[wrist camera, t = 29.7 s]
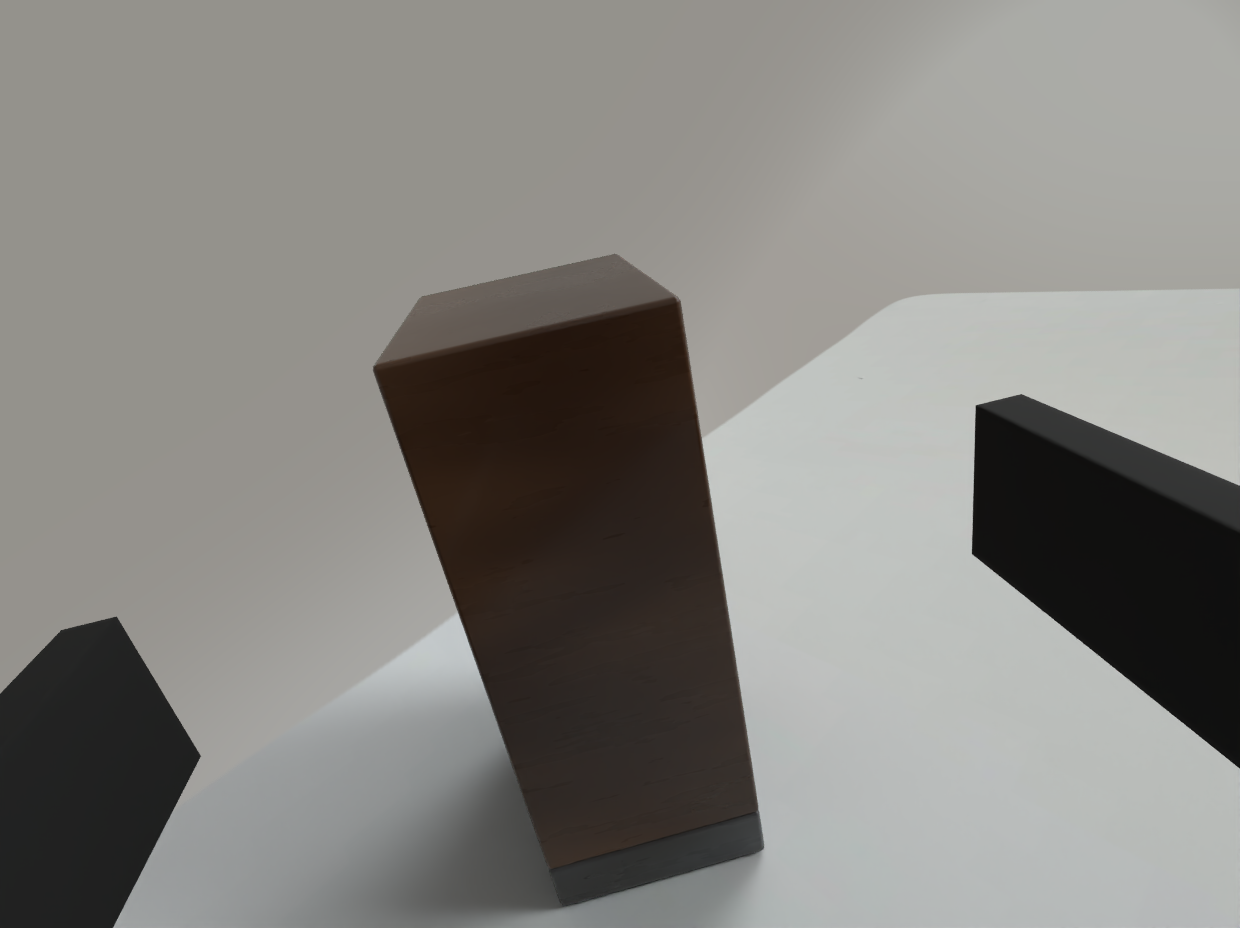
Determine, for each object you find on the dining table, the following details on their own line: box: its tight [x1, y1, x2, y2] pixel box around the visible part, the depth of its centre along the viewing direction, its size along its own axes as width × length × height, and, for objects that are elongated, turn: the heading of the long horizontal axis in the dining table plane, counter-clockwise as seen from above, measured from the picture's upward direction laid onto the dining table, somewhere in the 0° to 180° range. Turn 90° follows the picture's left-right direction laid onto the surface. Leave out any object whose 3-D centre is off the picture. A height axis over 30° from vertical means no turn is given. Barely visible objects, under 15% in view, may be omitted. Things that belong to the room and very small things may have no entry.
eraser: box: [373, 254, 764, 906], centre depth 15 cm, size 4×6×12 cm
